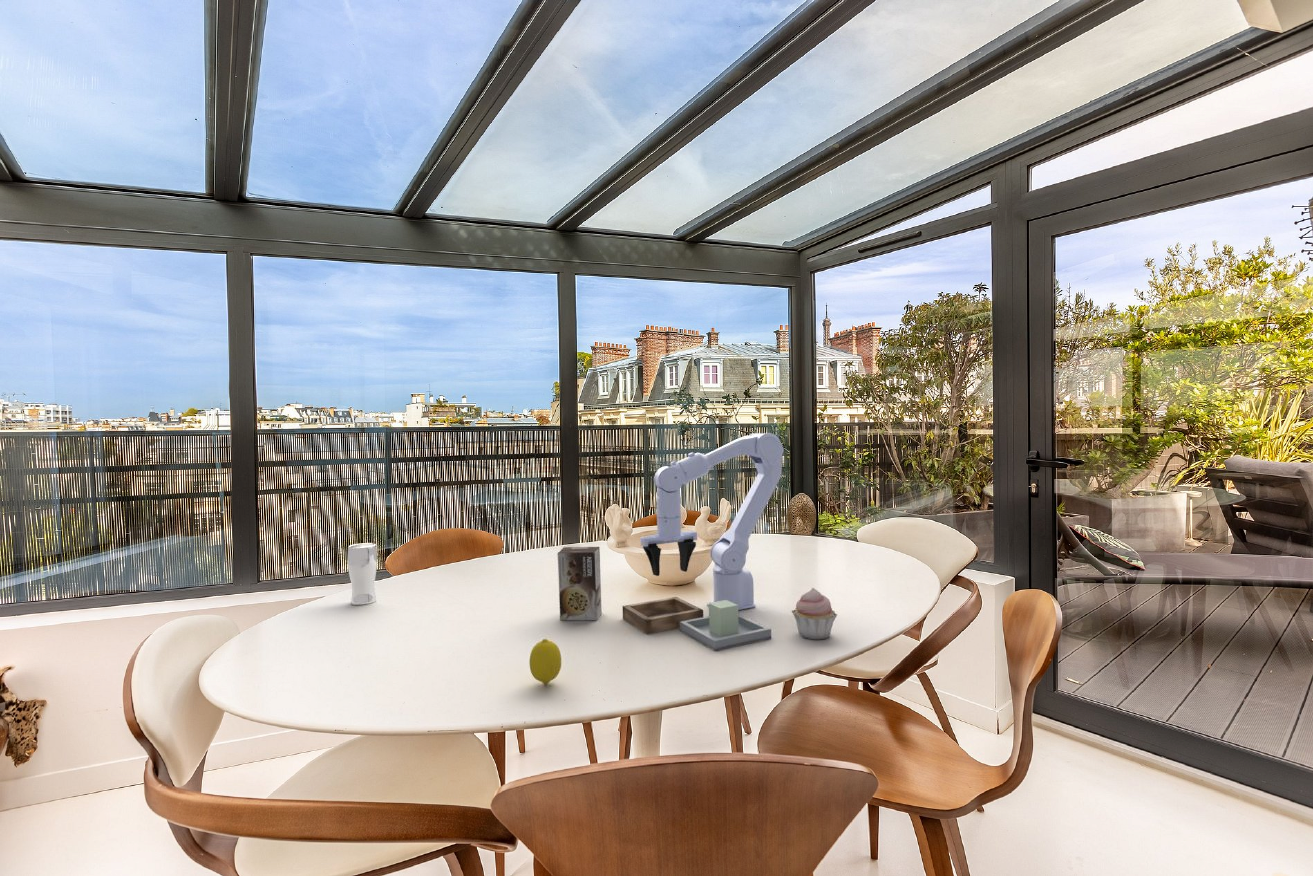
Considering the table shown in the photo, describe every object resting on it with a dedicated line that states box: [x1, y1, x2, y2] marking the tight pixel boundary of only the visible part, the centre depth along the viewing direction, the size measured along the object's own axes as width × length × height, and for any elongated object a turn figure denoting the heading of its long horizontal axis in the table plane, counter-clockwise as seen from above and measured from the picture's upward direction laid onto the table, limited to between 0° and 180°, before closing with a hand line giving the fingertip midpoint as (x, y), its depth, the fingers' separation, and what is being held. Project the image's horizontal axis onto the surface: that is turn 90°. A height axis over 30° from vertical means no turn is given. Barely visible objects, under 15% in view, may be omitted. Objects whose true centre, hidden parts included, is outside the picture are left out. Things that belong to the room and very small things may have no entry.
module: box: [708, 600, 739, 637], centre depth 132 cm, size 4×4×6 cm
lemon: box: [528, 638, 562, 685], centre depth 108 cm, size 6×6×8 cm
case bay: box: [622, 596, 704, 635], centre depth 142 cm, size 14×12×3 cm
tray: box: [679, 613, 772, 652], centre depth 132 cm, size 14×14×2 cm
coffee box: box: [557, 546, 603, 621], centre depth 146 cm, size 9×6×16 cm
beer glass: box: [347, 542, 378, 606], centre depth 162 cm, size 7×7×15 cm
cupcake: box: [791, 587, 838, 640], centre depth 130 cm, size 9×9×10 cm
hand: (670, 572), depth 148 cm, fingers open, 7 cm apart
